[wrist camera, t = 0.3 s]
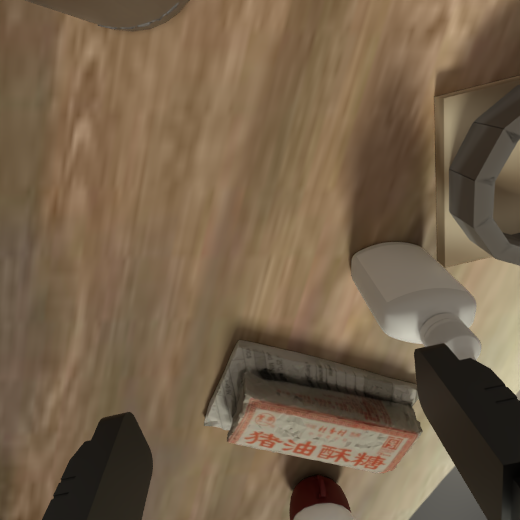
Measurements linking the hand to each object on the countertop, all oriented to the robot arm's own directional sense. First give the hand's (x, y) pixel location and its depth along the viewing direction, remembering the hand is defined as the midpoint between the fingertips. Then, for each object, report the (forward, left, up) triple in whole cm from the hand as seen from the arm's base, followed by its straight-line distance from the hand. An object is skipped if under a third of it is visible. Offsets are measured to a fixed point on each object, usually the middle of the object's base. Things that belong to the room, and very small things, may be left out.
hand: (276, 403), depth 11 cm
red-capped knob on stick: (+33, -1, -18) cm, 38 cm away
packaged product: (+20, +1, -18) cm, 27 cm away
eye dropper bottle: (+7, +9, -18) cm, 21 cm away
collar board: (+2, +19, -18) cm, 26 cm away
